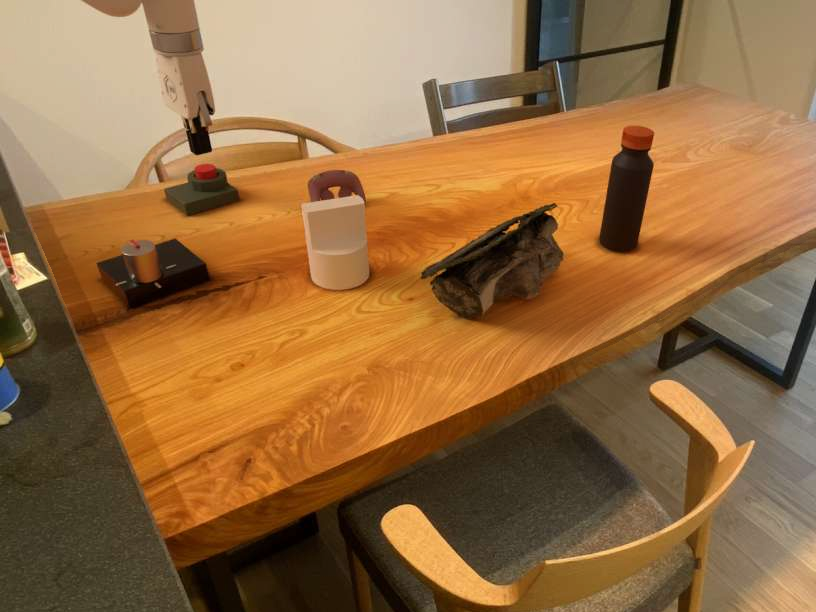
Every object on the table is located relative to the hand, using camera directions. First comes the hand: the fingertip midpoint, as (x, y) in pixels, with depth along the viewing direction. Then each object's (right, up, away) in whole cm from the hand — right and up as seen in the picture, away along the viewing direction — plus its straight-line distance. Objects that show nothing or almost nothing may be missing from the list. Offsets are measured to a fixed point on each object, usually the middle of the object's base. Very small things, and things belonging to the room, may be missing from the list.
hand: (201, 152), depth 122 cm
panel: (+2, -26, -19) cm, 32 cm away
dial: (+2, -25, -22) cm, 34 cm away
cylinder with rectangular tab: (+28, -24, -14) cm, 39 cm away
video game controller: (+23, -8, +6) cm, 25 cm away
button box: (-1, -8, +3) cm, 8 cm away
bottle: (+74, -17, 0) cm, 75 cm away
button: (0, -4, +3) cm, 5 cm away
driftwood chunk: (+52, -27, -15) cm, 60 cm away
